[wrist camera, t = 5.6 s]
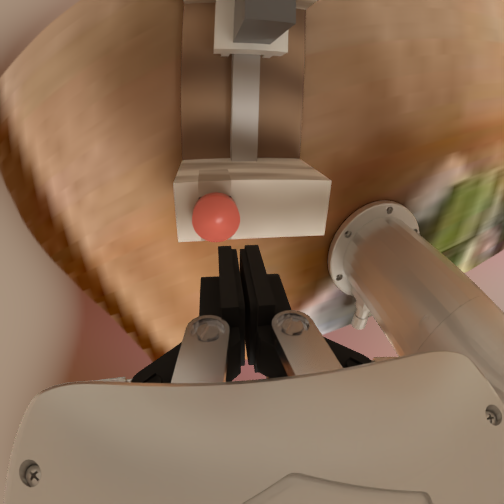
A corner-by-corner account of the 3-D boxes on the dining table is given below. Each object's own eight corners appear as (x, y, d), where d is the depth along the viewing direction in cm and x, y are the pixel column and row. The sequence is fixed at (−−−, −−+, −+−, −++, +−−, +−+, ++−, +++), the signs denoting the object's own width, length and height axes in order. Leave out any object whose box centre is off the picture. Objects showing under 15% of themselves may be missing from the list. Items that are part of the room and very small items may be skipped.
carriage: (276, 58, 19) (319, 35, 11) (213, 56, 18) (217, 26, 10) (277, 6, 16) (318, -37, 8) (215, 3, 15) (222, -49, 7)
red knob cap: (233, 215, 21) (240, 240, 17) (195, 217, 20) (193, 243, 17) (233, 178, 19) (240, 196, 16) (193, 180, 19) (190, 199, 16)
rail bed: (291, 195, 27) (324, 235, 20) (185, 199, 26) (178, 242, 18) (300, -19, 16) (337, -56, 9) (188, -26, 15) (182, -71, 7)
